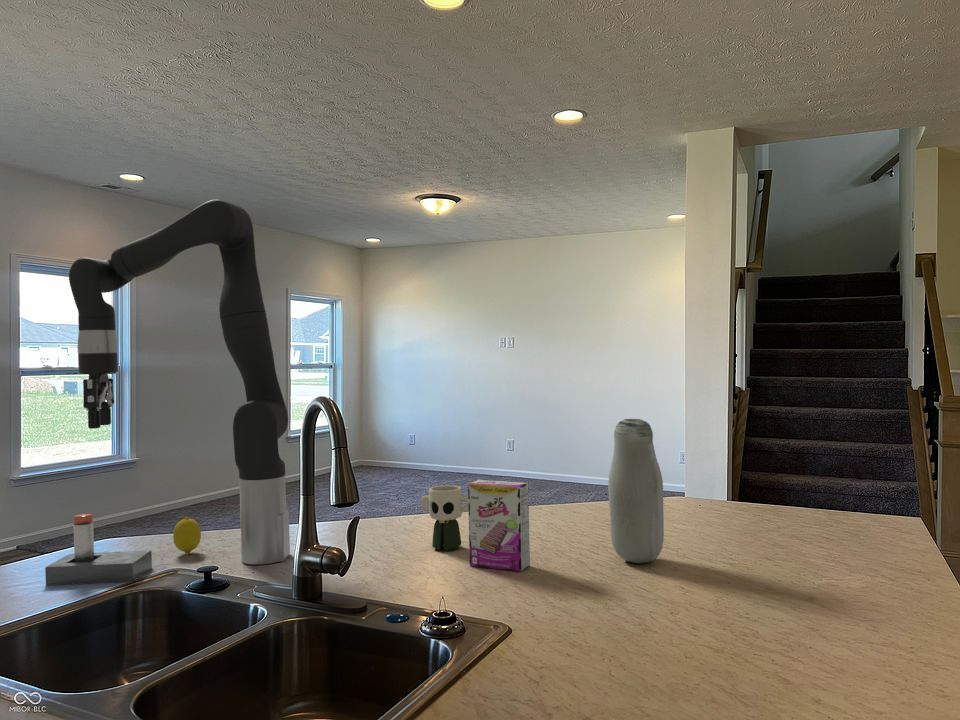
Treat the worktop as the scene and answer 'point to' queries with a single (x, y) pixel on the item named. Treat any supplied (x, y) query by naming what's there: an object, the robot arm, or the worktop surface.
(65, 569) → the grey block with hole
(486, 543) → the candy bar box
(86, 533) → the pin
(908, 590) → the worktop surface
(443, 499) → the character mug
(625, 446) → the grey bottle
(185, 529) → the lemon
